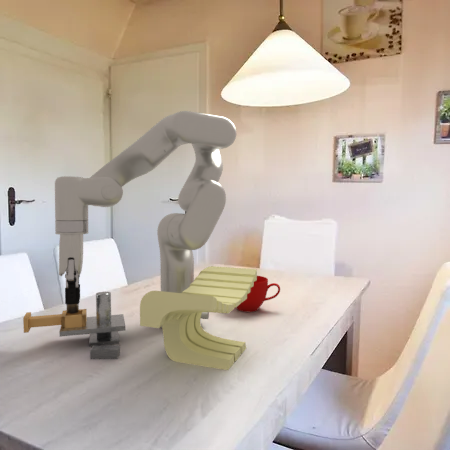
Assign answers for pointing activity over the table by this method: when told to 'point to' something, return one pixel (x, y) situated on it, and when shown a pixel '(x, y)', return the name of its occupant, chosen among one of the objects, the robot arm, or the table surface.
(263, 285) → the ceramic cup
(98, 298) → the grey metal fixture
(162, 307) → the slatted curved stool
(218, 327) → the table surface
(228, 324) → the table surface
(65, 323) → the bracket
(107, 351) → the wedge bar
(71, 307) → the pin
